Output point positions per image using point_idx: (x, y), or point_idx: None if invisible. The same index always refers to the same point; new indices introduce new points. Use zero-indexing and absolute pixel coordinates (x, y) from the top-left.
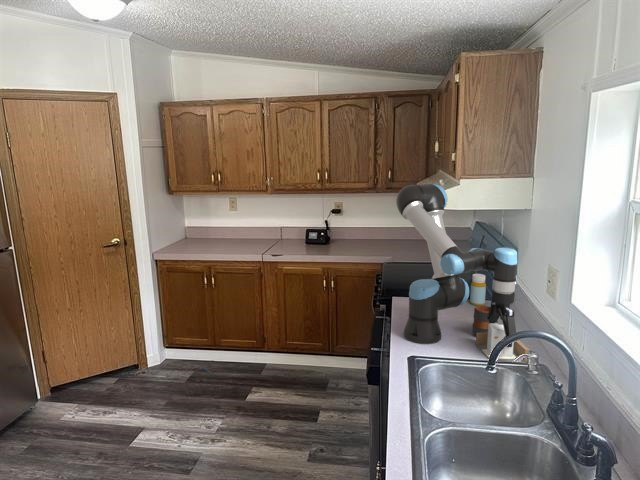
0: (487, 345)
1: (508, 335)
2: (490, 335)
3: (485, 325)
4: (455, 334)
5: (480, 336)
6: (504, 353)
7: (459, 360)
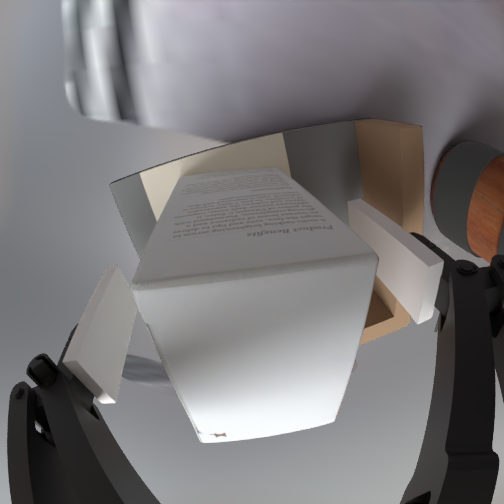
0: (274, 173)
1: (22, 399)
2: (189, 225)
3: (484, 216)
4: (459, 60)
5: (388, 147)
6: (104, 275)
7: (111, 6)
